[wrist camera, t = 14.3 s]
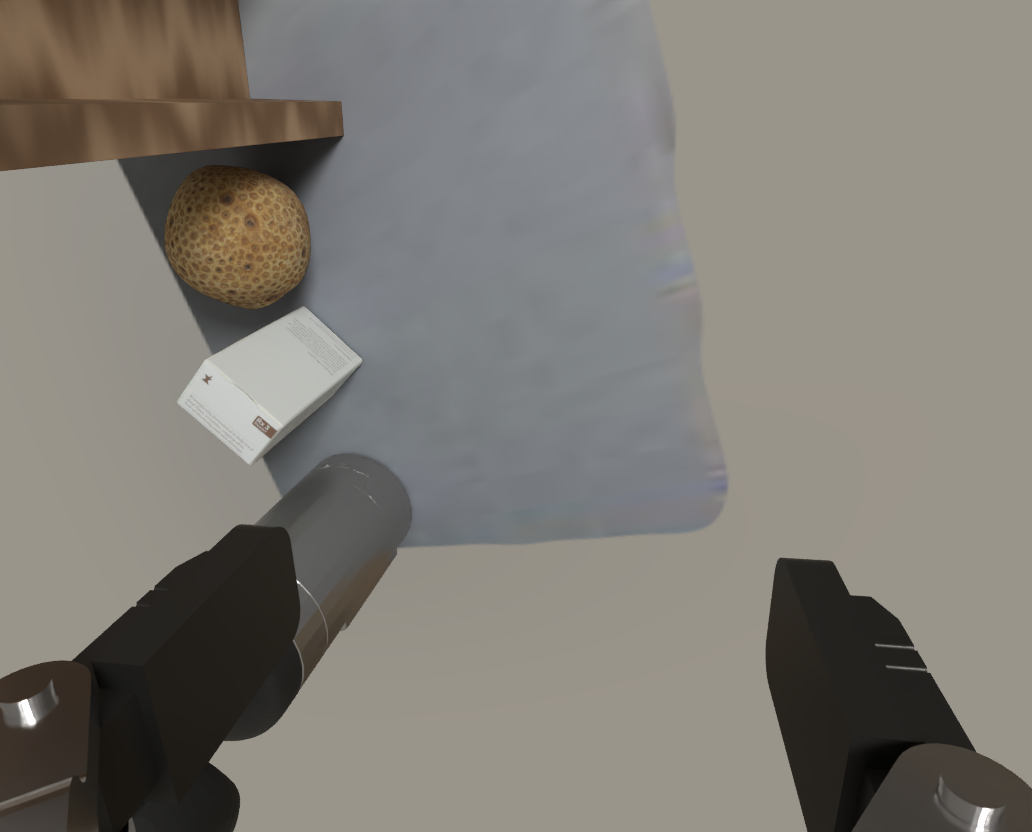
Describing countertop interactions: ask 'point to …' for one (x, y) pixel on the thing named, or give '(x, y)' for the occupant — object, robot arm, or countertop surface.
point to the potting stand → (134, 83)
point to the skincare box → (268, 383)
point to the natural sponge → (237, 236)
